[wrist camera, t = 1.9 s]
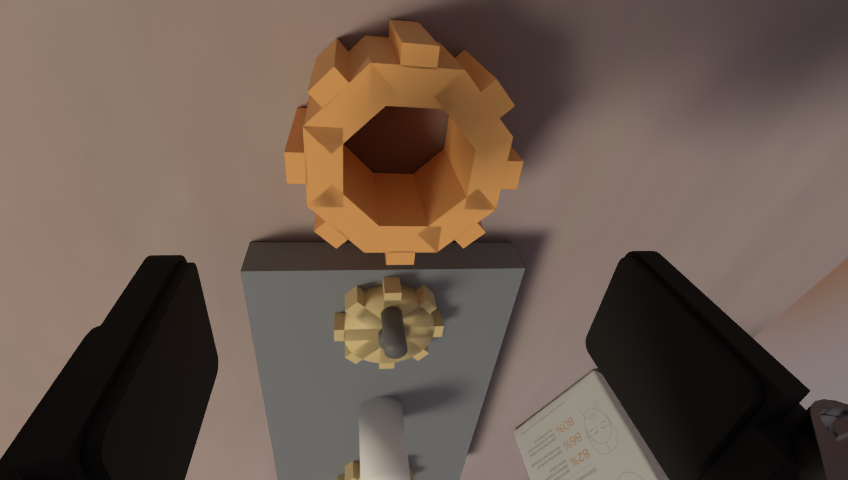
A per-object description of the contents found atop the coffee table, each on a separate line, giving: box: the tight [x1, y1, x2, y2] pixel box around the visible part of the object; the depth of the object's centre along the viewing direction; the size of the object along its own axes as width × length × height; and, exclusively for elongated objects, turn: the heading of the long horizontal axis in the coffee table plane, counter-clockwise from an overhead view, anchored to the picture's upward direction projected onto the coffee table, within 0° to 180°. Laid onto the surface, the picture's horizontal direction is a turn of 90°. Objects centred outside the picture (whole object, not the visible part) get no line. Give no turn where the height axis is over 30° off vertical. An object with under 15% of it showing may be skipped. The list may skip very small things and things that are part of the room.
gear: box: [284, 19, 524, 265], centre depth 15 cm, size 7×7×4 cm
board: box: [241, 242, 525, 480], centre depth 22 cm, size 20×12×6 cm, turn 174°
